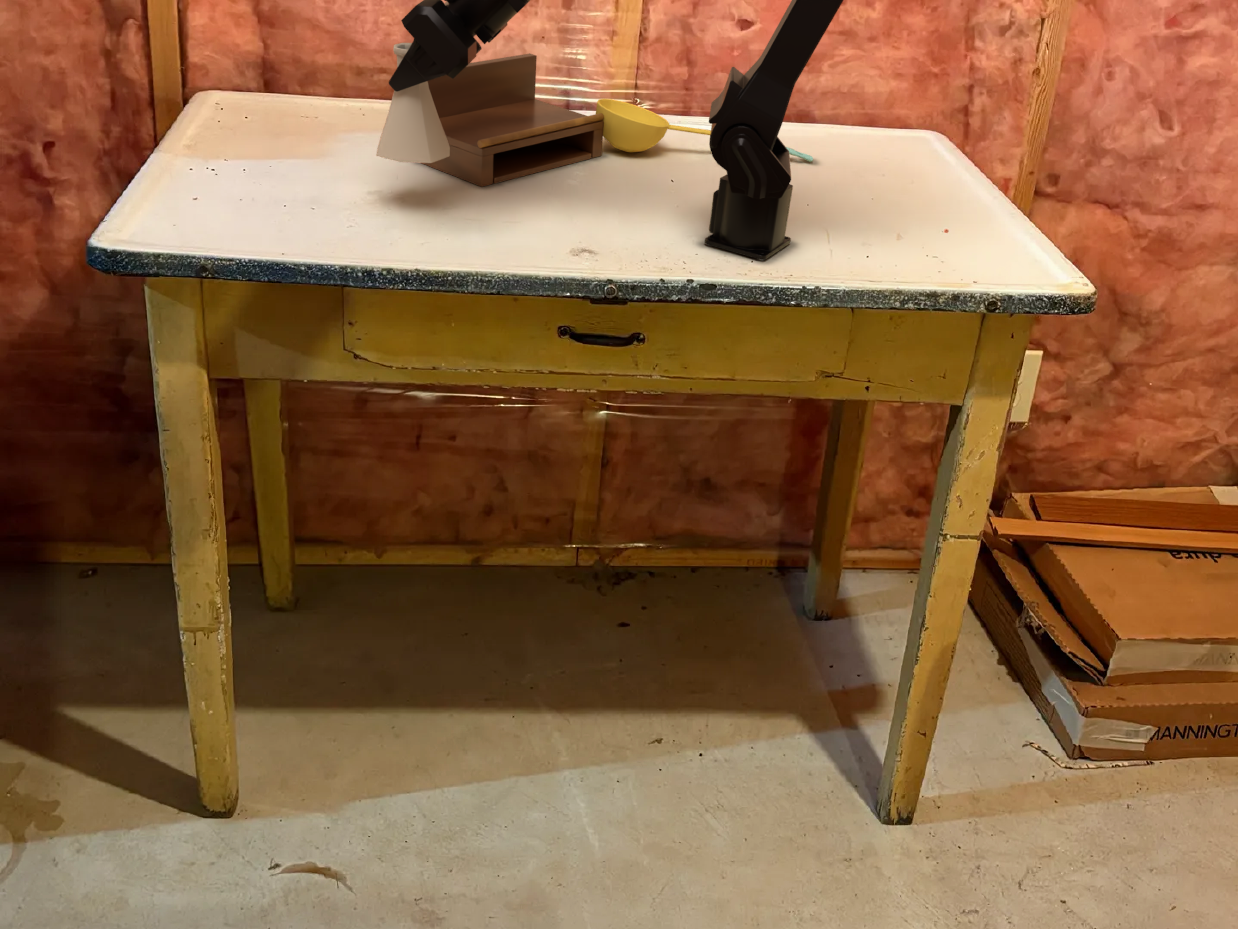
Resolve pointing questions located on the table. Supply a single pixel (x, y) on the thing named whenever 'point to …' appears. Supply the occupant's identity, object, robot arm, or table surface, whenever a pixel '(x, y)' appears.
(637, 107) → the ladle
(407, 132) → the flask
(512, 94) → the spice rack
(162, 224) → the table surface
